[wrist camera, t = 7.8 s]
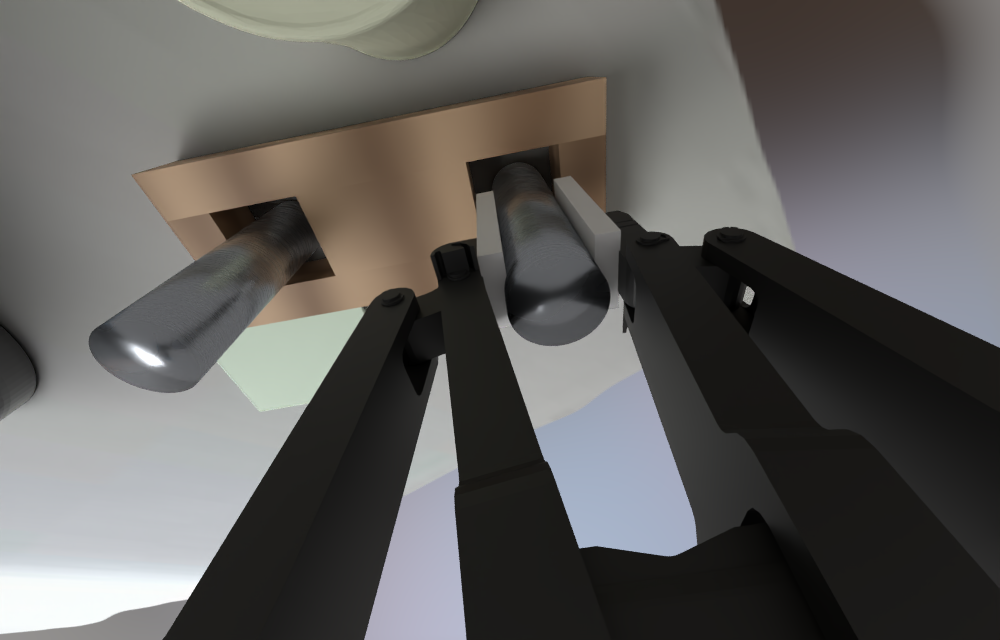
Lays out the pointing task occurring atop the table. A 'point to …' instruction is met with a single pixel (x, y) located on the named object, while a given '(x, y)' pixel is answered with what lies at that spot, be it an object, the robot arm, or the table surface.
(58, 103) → the table surface
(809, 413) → the robot arm
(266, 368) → the mat
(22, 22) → the table surface
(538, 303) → the pin
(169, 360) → the pin
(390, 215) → the socket block
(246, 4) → the can
